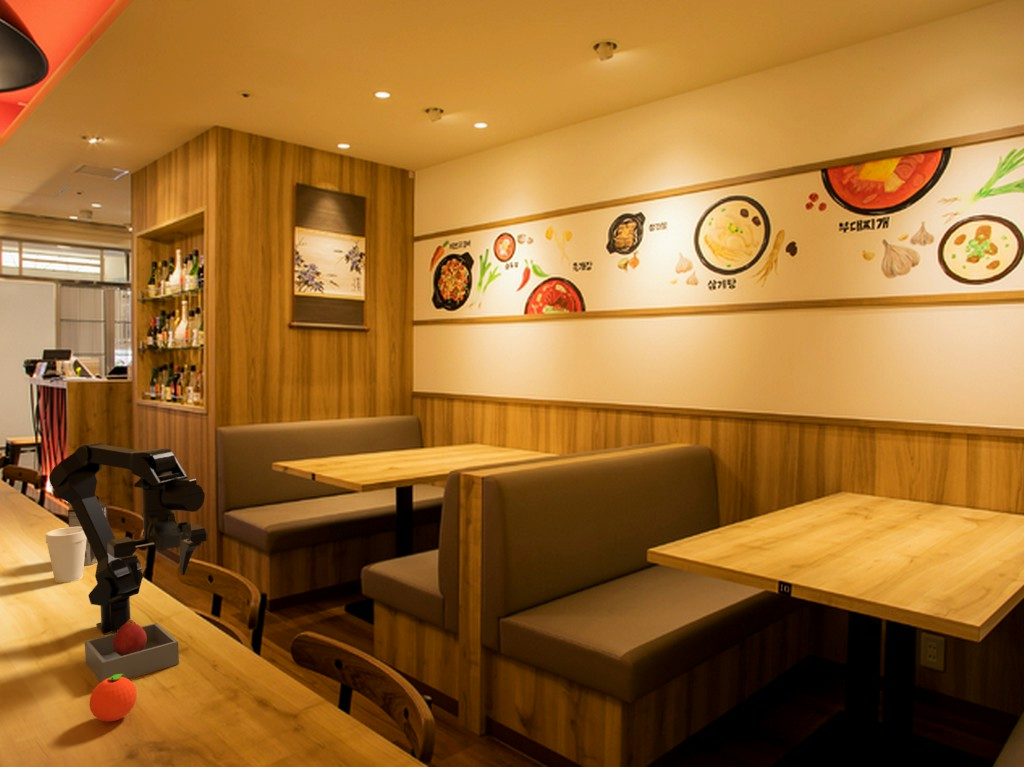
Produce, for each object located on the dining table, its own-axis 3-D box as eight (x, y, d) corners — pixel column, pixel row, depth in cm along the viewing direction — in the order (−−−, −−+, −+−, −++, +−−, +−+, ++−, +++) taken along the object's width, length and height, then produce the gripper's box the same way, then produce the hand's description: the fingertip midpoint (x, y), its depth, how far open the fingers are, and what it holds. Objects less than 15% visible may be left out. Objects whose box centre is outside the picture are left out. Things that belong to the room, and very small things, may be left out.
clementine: (106, 706, 124) (104, 666, 124) (147, 704, 124) (145, 664, 124) (81, 731, 116) (79, 688, 116) (125, 729, 116) (124, 686, 116)
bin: (85, 663, 140) (84, 641, 140) (157, 643, 150) (156, 622, 149) (103, 686, 131) (102, 662, 131) (179, 664, 140) (178, 641, 140)
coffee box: (89, 555, 213) (87, 502, 212) (110, 555, 212) (108, 502, 211) (69, 565, 204) (66, 509, 203) (91, 565, 203) (88, 509, 202)
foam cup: (74, 584, 187) (72, 536, 186) (39, 584, 187) (37, 536, 186) (96, 573, 196) (94, 526, 196) (63, 573, 197) (61, 526, 196)
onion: (110, 667, 136) (108, 626, 136) (117, 654, 142) (116, 615, 142) (144, 663, 138) (142, 622, 138) (150, 651, 144) (148, 612, 143)
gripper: (120, 522, 141) (123, 600, 141) (216, 507, 153) (218, 578, 154) (105, 513, 149) (108, 586, 149) (197, 499, 161) (199, 567, 162)
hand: (160, 579), depth 154 cm, fingers open, 9 cm apart
